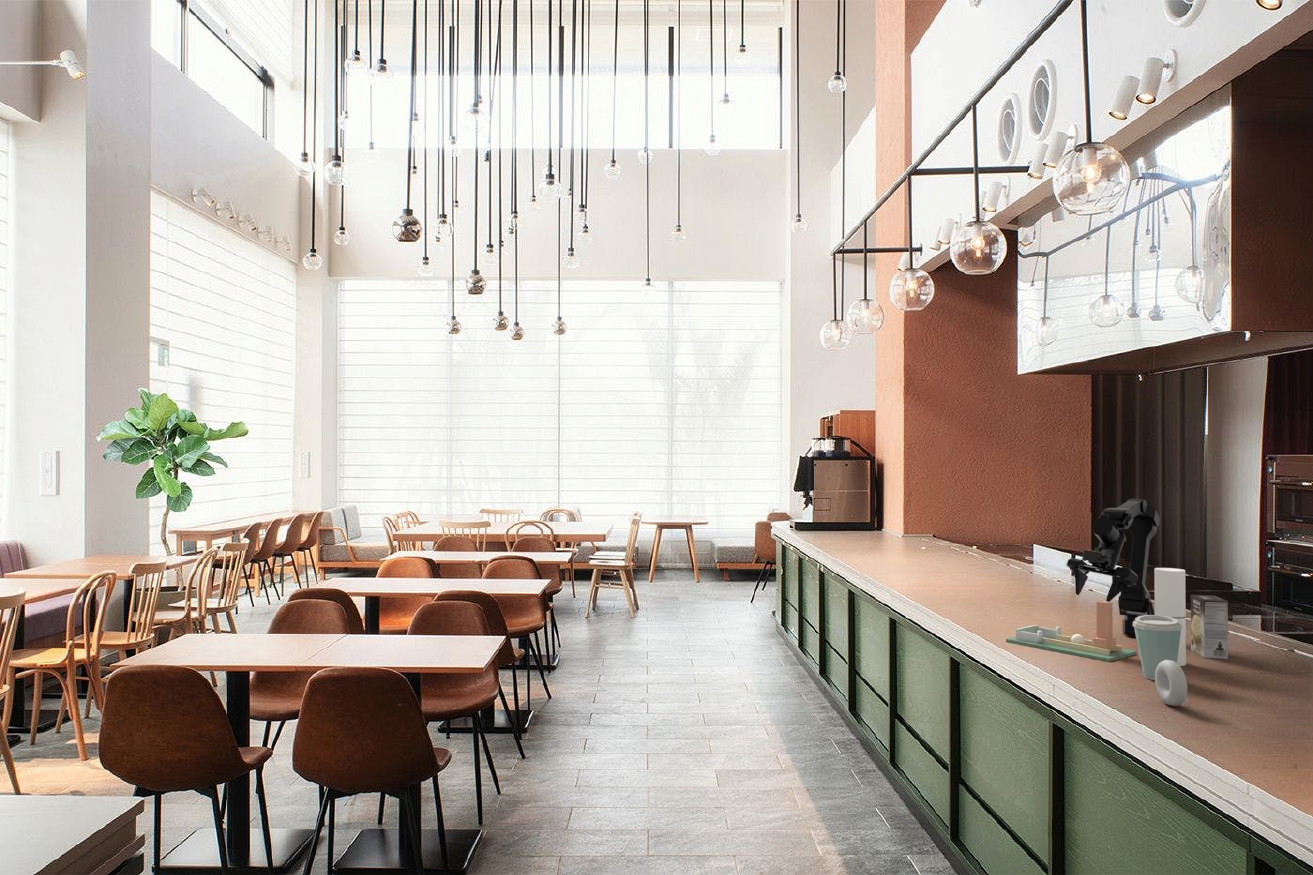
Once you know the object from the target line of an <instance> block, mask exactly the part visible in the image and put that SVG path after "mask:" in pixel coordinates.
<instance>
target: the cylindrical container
mask: <svg viewBox="0 0 1313 875" xmlns="http://www.w3.org/2000/svg"><path fill="white" fill-rule="evenodd" d="M1186 608H1187V607H1186V570H1185V569H1181V568H1175V567H1174V568H1173V567H1155V568H1154V610H1155V615H1159V616H1168V617H1171V618H1175V619H1176V620H1178V621H1179V624H1180V625H1181V626H1182V629H1181V634H1180V642H1179V650H1178V658H1177V664H1178V665H1179V666H1180V667H1181V666H1182V667H1184V666H1187V648H1186V644H1187V642H1186V641H1187V640H1186V637H1187V632H1186V629H1187V628H1186V627H1187V626H1186V625H1187V624H1186V623H1187V622H1186V621H1187V620H1186Z"/></svg>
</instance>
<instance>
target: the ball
mask: <svg viewBox="0 0 1313 875" xmlns="http://www.w3.org/2000/svg"><path fill="white" fill-rule="evenodd" d="M1071 637H1072V638H1071V641H1072V643H1076V644H1082V645H1084V643H1085V637H1084V636H1083V635H1081V634H1079V633H1076V634H1073V635H1072V636H1071Z"/></svg>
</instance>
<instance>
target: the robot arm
mask: <svg viewBox="0 0 1313 875" xmlns="http://www.w3.org/2000/svg"><path fill="white" fill-rule="evenodd" d="M1160 520H1161V519H1160V515H1159V514H1158V511H1157V509H1155V508H1154V507H1152V506H1151V505H1150V504H1148V503H1147V501H1146V500H1145V499H1140V498H1128V499H1126V501H1125V502H1124V503H1122V504H1121V505H1119V506H1118V507H1108V508H1105V509H1103V510H1102V512H1101V513H1100V515H1099V517H1098V518H1096V519H1094V521H1092V523H1091V526H1090V529H1091V531H1092V533H1093V534H1094V535H1095V536H1096V538H1097V539H1098V540H1099V541H1100V542H1099V545H1098V546H1095V547H1094V550H1090V549H1083V552H1082V558H1081V559H1079V558H1073V557H1070V558H1069V559H1067V562H1066V567H1068V568H1069V570H1070V571H1071V572H1072V573H1073V574H1074V581H1075V582H1074V583H1075V585H1074V586H1075V588H1074V589H1075V594H1076V595H1077V596H1079V595H1080V594H1081V592H1082V590H1083V589H1084V586H1085V584H1086V582H1087V580H1088V578H1089V576H1088V574H1089V573H1094V574H1101V575H1105V576H1110V577H1111V585H1110V588H1109V590H1108V592H1107V595H1106V599H1105V601H1106V602H1111V601H1113V600H1114V599H1115V597H1117V596H1118V595H1119V594H1120V595H1119V596H1118V597H1117V598H1118V599H1117V603H1118V604H1117V605H1118V611H1119V616H1124V618H1123V619H1122V634H1123V635H1125V636H1126V637H1128V638H1136V634H1135V629H1134V626H1133V621H1135V618H1137V617H1138V616H1143V615H1155V606H1154V605H1153V601H1152V599H1151V594H1150V592H1149V590H1148V588H1147V586H1146V581H1147V580H1146V579H1147V572H1148V570H1147V569H1148V562H1149V551H1150V550H1149V549H1150V544H1151V543H1150V542H1151V540H1152V538H1154V536H1155V535H1156V534H1157V531H1158V527H1159V526H1160V523H1161V522H1160ZM1121 530H1129V531H1130V534H1131V535H1132V542H1131V543H1132V546H1131V554H1130V563H1129V568H1127V567H1122V566H1117V564H1118V563H1117V562H1118V561H1119V562H1120V561H1121V560H1122V557H1121V556H1120V554H1121V551H1122V548H1123V546H1124V543H1125V542H1127V537H1126V535H1125V532H1123V531H1121ZM1086 561H1087V562H1088V563H1086ZM1090 564H1091V565H1090Z"/></svg>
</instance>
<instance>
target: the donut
mask: <svg viewBox="0 0 1313 875" xmlns="http://www.w3.org/2000/svg"><path fill="white" fill-rule="evenodd" d="M1154 682H1155V687H1156V691H1157V694H1158V695H1159V698H1160V699H1161V700H1162V701H1163V702H1164V703H1165V704H1167V705H1168V706H1172V707H1178V706H1181V705H1182V704H1184V702H1185V701H1186V699H1187V696H1188V680H1187V677H1186V675H1185V672H1184V670H1183V669H1182V667H1181V666H1179V665H1178V664H1177V663H1176V662H1174V661H1171V660H1164V661H1162V662H1160V663H1159V664H1158V666H1157V668H1156V672H1155V680H1154Z"/></svg>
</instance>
